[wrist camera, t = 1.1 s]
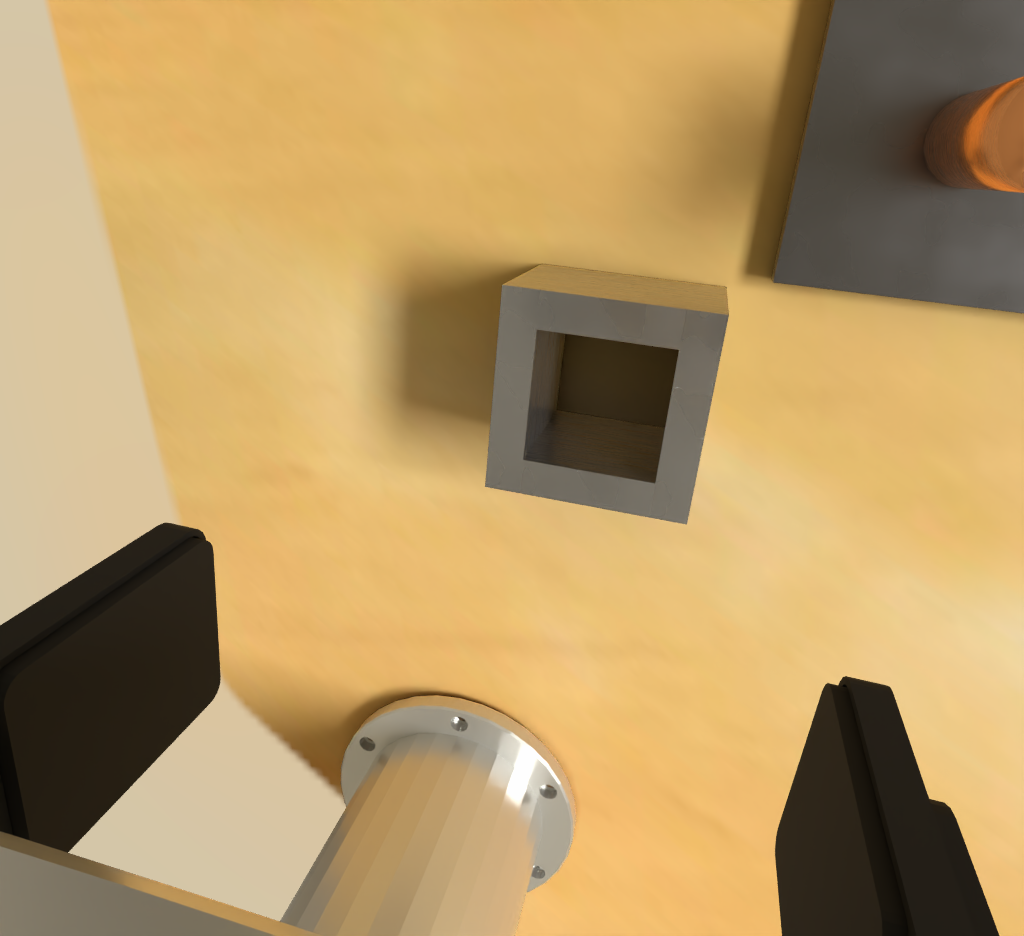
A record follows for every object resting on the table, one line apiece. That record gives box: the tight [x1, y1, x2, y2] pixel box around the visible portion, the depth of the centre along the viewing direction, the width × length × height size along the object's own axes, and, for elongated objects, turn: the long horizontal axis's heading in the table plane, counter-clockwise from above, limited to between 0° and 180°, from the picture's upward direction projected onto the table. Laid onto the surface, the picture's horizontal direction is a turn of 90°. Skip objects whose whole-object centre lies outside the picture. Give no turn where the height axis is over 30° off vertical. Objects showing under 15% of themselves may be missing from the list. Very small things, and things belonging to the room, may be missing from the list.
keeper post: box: [771, 0, 1024, 313], centre depth 21 cm, size 10×10×8 cm
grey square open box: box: [485, 264, 729, 524], centre depth 27 cm, size 7×7×6 cm
